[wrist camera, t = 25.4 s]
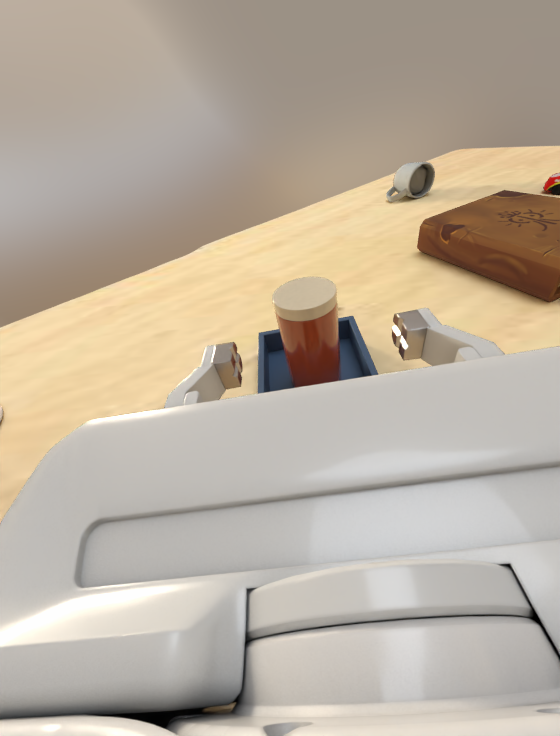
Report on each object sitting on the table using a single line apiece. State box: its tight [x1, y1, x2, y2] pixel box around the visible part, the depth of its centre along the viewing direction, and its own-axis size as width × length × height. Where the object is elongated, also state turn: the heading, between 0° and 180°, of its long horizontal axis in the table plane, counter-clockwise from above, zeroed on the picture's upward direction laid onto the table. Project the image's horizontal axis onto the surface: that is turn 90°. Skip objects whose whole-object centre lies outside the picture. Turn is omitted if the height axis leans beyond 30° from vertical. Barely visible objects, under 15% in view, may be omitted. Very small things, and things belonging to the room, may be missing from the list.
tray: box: [258, 316, 378, 394], centre depth 33 cm, size 14×12×4 cm
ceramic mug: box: [386, 162, 435, 202], centre depth 76 cm, size 11×8×8 cm
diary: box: [417, 190, 560, 302], centre depth 45 cm, size 23×19×6 cm
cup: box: [272, 277, 342, 388], centre depth 30 cm, size 6×6×12 cm
